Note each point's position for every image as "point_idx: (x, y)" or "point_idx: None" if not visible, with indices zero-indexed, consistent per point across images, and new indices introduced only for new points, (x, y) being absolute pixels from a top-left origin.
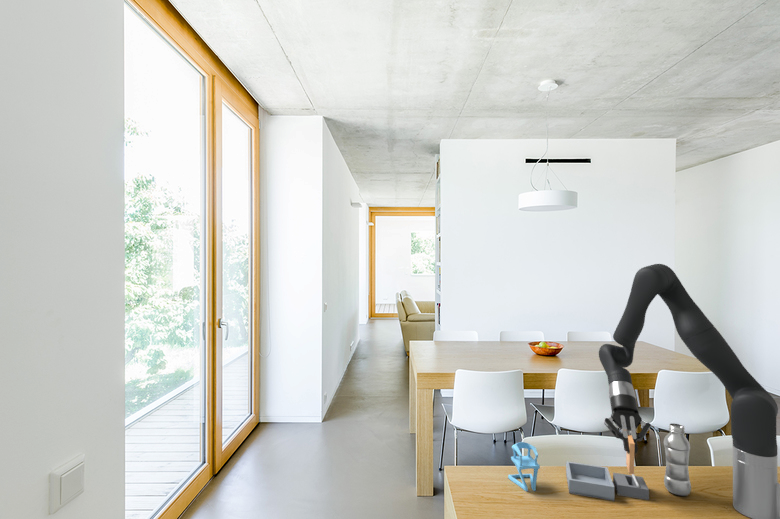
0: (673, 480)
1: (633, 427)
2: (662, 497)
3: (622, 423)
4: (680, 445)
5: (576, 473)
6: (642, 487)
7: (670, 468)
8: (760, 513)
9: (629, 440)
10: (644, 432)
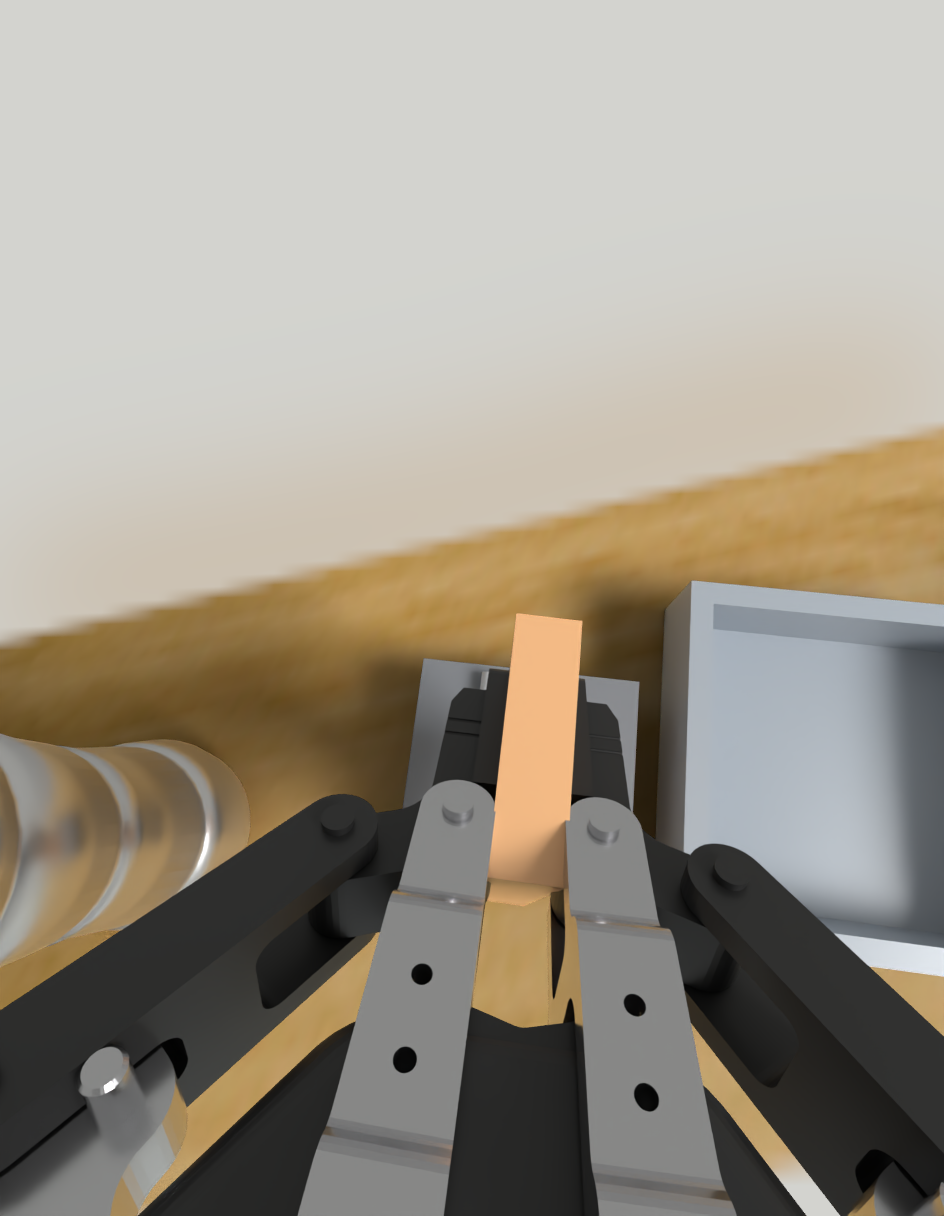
0: (184, 764)
1: (418, 954)
2: (323, 733)
3: (673, 1080)
4: None
5: (914, 932)
6: (459, 682)
7: (146, 789)
8: None
9: (569, 700)
10: (227, 877)
